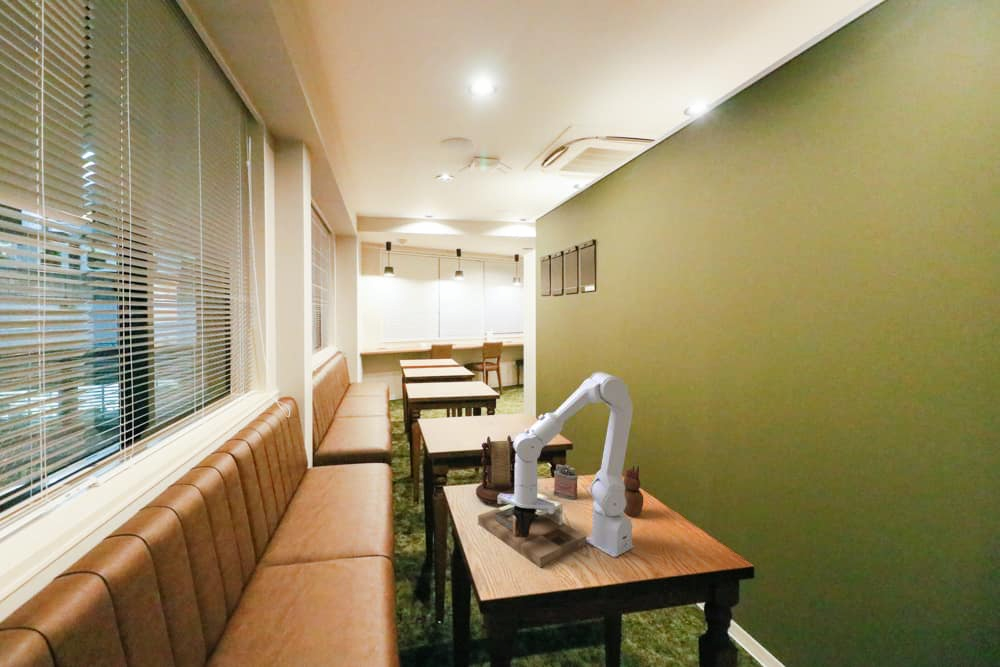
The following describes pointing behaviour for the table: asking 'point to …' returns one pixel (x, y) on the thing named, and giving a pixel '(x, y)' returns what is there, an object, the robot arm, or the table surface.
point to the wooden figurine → (633, 493)
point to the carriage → (509, 524)
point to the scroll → (497, 470)
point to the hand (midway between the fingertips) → (525, 535)
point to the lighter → (565, 482)
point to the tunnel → (537, 534)
